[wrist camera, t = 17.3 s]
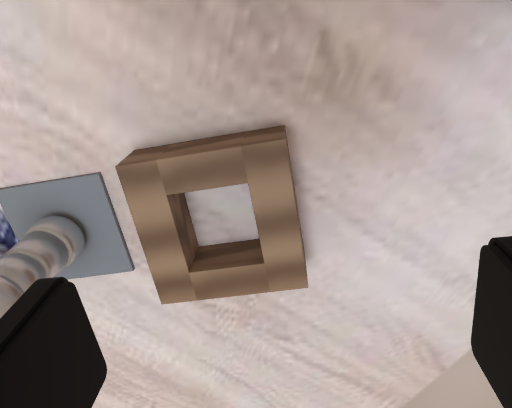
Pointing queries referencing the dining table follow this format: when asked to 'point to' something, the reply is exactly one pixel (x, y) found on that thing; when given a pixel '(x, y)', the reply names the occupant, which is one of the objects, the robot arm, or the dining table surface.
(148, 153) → the bore block
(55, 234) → the plastic bottle
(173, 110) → the dining table surface
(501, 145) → the dining table surface
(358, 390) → the dining table surface
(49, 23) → the dining table surface
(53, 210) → the pad
